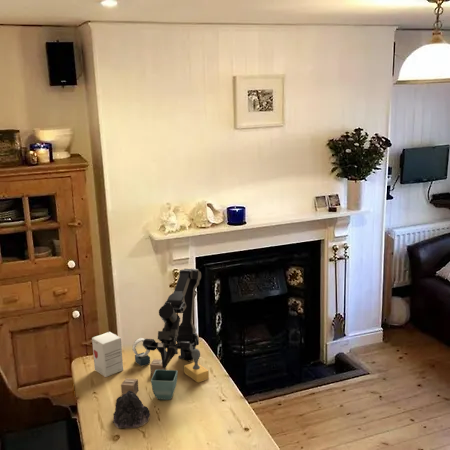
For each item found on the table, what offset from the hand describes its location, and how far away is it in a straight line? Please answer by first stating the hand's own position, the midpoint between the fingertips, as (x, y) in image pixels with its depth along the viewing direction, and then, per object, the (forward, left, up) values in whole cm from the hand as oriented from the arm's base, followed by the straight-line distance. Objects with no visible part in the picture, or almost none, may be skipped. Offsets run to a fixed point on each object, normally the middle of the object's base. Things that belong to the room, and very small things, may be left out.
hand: (164, 367), depth 216 cm
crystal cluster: (+18, 0, -12) cm, 22 cm away
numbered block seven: (-12, -15, -12) cm, 23 cm away
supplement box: (-2, -34, -12) cm, 36 cm away
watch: (-15, -27, -12) cm, 33 cm away
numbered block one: (+6, -13, -12) cm, 19 cm away
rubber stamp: (-19, 0, -12) cm, 23 cm away
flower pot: (0, 0, -12) cm, 12 cm away
